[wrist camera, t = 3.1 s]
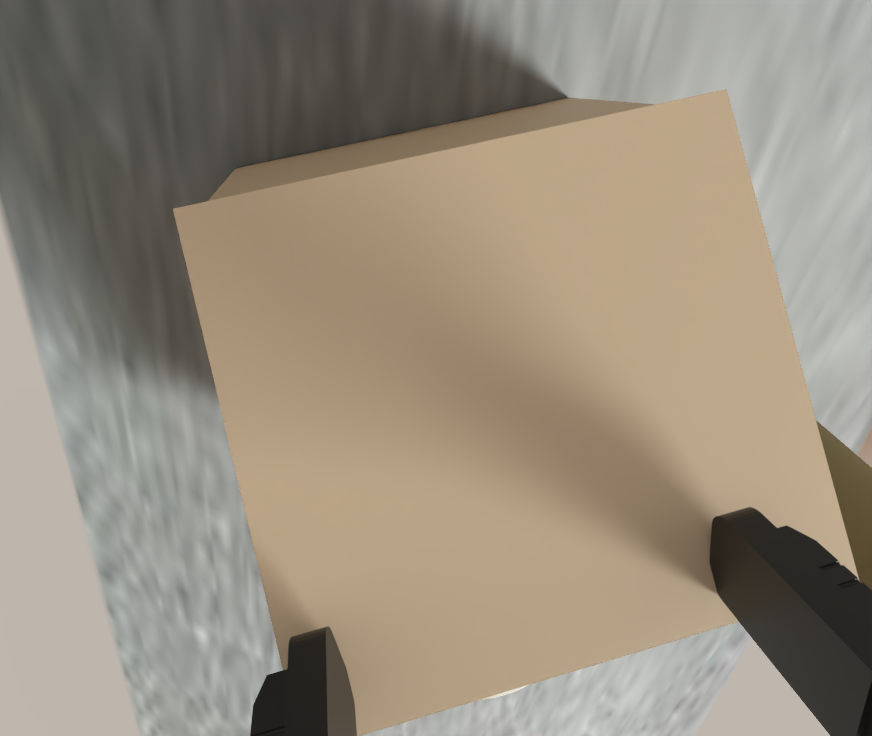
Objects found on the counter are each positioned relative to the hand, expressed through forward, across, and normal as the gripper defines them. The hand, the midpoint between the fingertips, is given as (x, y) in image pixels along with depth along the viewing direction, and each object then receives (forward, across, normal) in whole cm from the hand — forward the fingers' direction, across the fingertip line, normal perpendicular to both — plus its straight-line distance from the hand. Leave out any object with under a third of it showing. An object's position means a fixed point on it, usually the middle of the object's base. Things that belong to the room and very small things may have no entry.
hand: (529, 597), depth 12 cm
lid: (+3, -1, -3) cm, 4 cm away
